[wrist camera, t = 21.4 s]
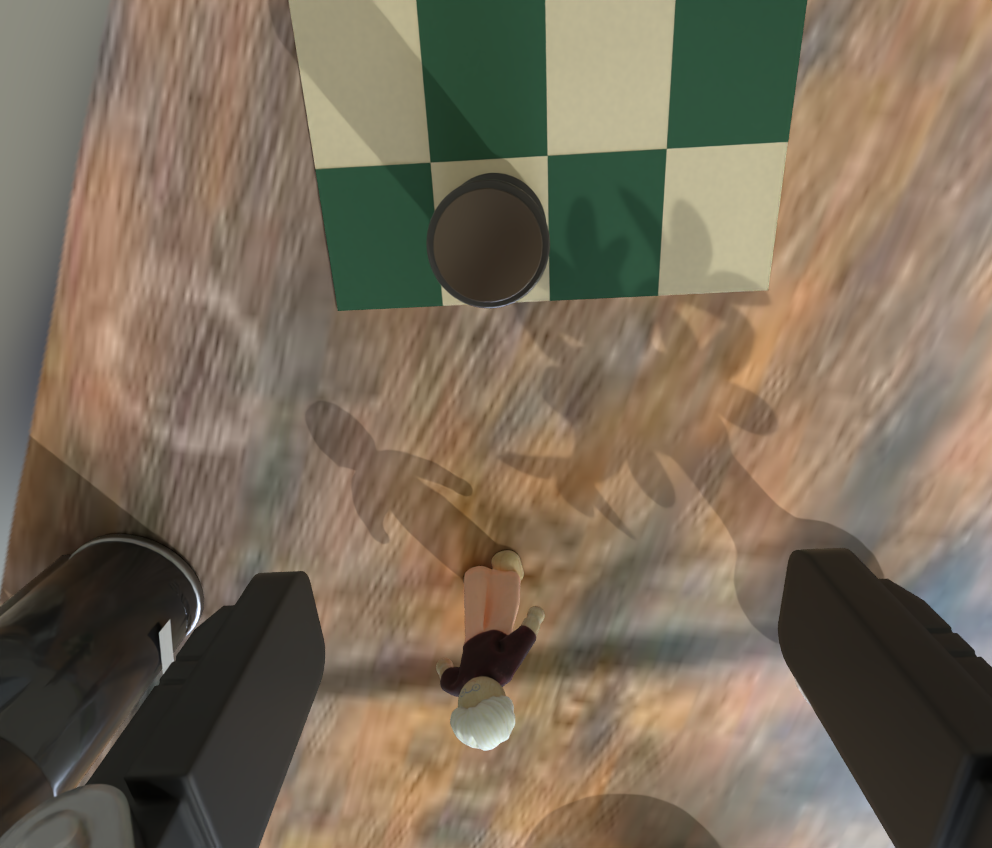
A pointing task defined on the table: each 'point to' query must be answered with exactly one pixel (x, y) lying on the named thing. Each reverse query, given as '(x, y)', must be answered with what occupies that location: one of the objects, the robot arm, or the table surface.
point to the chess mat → (553, 136)
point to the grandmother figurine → (489, 652)
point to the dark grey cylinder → (489, 241)
